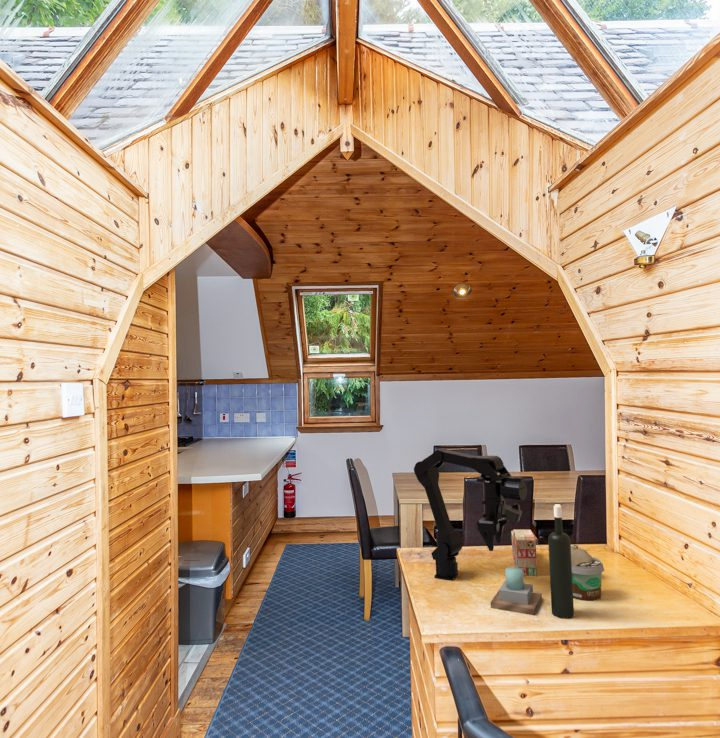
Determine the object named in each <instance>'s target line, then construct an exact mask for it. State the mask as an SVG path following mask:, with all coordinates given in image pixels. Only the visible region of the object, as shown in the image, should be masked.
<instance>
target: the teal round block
mask: <svg viewBox="0 0 720 738" xmlns="http://www.w3.org/2000/svg"><path fill="white" fill-rule="evenodd" d="M524 577H525V576H523V569H521V568H518V567H516V566H508V567H505V581H506V587H507V588H508V589H510V590H515V591H518V590H523V589H524V583H525V581H524Z"/></svg>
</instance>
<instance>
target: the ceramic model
mask: <svg viewBox="0 0 720 738" xmlns="http://www.w3.org/2000/svg"><path fill="white" fill-rule="evenodd" d="M591 561H594V557H593V556H592V555H591V554H590V553H588V551H587V549H584V548H580V547H579V545H577V544H573V545H571V563H572V565H573V566H576V565H578V564H580V563H582V562H591Z"/></svg>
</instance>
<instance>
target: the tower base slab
mask: <svg viewBox="0 0 720 738" xmlns="http://www.w3.org/2000/svg"><path fill="white" fill-rule="evenodd" d="M542 594H543V593H539V592H535V591H533V596H532V598H531V600H530V602H529V604H528V605H525V604H519V603H512V602H506V601H500V600H499V590H498V591H497V592H496V594H495V595H494V597H493V598H492V600H491V601H490V608H491V609H493V610H494V609H496V610H500V611H507V612H511V613H512V612H513V613H517V614H523V615H529V616H536V615H535V614H536V612H537V611H538V608H539V607H540V604H541V602H542V600H543V596H542Z"/></svg>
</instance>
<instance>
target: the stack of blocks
mask: <svg viewBox="0 0 720 738" xmlns="http://www.w3.org/2000/svg"><path fill="white" fill-rule="evenodd" d="M510 538H511V549H512V551H511V552H512V560H513V563H514V565H515V566H514V567H518V568H521V569H523V577H538V567H537V540H536V538H535V535H534V532H532V530H531V529H512V530H511V531H510Z"/></svg>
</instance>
